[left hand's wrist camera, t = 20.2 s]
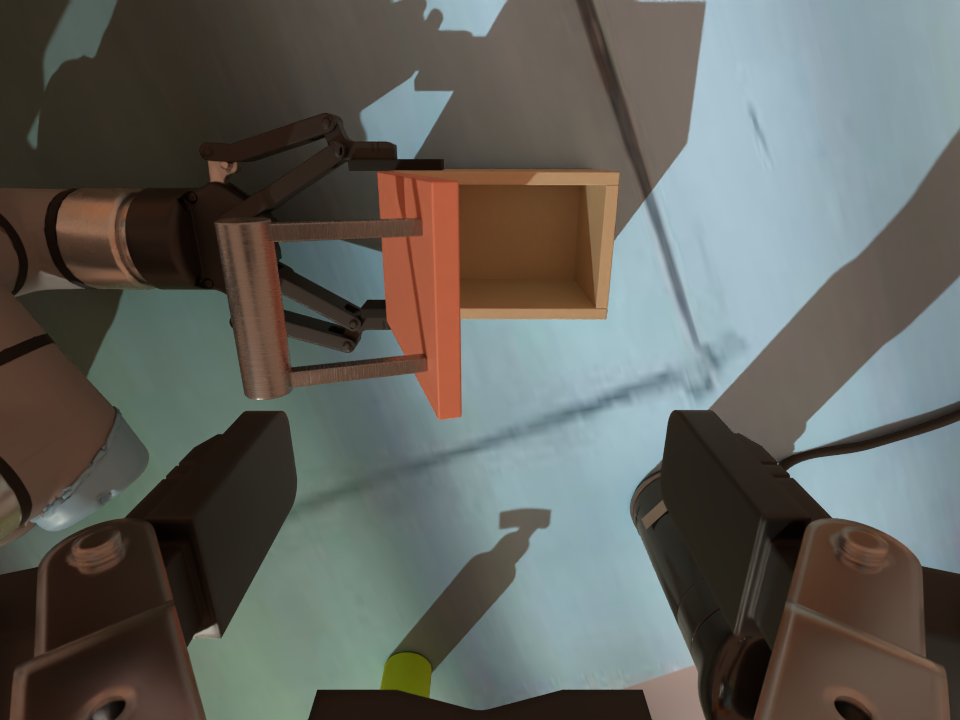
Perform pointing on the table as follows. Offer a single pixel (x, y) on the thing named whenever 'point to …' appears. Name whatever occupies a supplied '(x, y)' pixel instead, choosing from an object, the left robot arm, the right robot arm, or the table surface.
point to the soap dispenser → (407, 674)
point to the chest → (534, 241)
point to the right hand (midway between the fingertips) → (444, 240)
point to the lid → (408, 291)
